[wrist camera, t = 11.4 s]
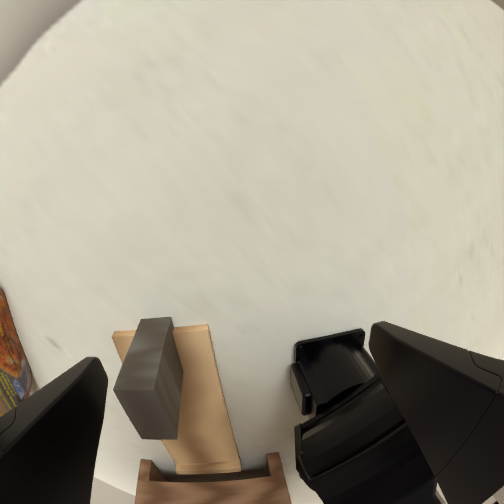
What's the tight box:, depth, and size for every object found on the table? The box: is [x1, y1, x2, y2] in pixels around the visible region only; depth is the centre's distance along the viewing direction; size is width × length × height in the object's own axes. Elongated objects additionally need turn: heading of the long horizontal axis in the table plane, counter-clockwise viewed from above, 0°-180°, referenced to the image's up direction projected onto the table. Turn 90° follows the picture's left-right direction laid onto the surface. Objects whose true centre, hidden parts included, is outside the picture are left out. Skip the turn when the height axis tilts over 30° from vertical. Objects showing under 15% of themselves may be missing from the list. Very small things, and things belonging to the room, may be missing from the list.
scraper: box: [112, 317, 241, 474], centre depth 20 cm, size 8×22×8 cm, turn 5°
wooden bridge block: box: [135, 452, 291, 504], centre depth 25 cm, size 18×10×8 cm, turn 95°
